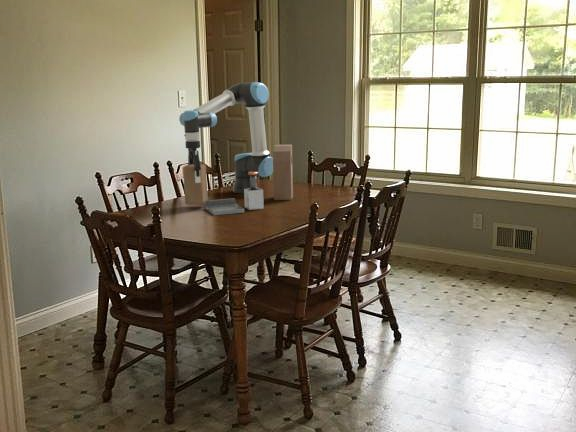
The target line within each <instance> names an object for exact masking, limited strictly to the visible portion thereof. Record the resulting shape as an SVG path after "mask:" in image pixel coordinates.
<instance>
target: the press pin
mask: <svg viewBox="0 0 576 432" xmlns="http://www.w3.org/2000/svg"><path fill="white" fill-rule="evenodd" d="M248 174H249V175H250V183H251V190H256V184H257V176H256V175H257V174H258V172H248Z"/></svg>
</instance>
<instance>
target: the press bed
mask: <svg viewBox="0 0 576 432" xmlns="http://www.w3.org/2000/svg"><path fill="white" fill-rule="evenodd" d="M204 204H205V210H206V211H207V212H209V213H210V214H211V215H212V216H223V215H231V214H233V215H234V214H244V213H245V207H242V206H241V205H239V204H238V203H236V198H231V197H230V198H224V199H223V198H220V199H211V200H210V199H208V201H205V203H204Z"/></svg>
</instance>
